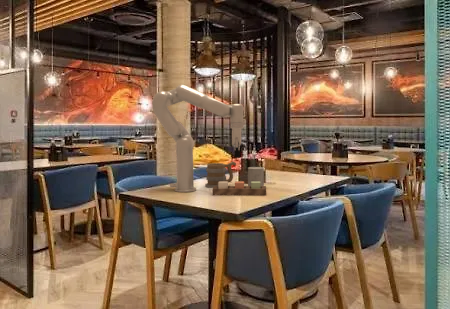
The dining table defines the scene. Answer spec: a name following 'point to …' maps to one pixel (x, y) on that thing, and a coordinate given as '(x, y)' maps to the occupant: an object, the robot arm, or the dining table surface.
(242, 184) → the terracotta key
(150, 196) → the dining table surface
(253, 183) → the sage key
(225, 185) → the cream key
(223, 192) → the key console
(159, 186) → the dining table surface
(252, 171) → the grey stone cylinder
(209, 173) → the tankard
